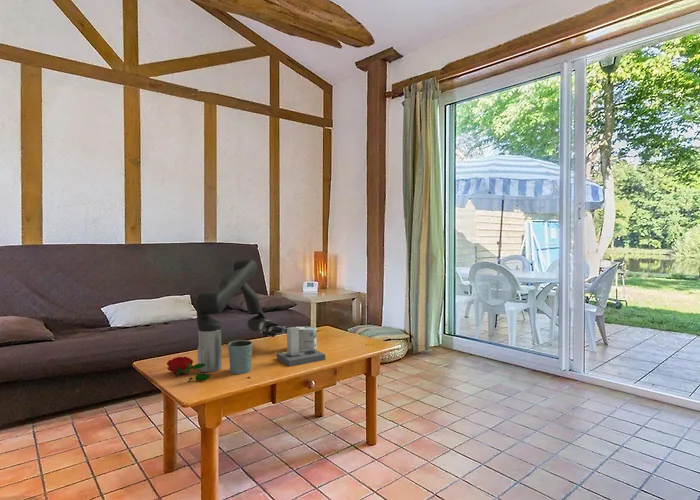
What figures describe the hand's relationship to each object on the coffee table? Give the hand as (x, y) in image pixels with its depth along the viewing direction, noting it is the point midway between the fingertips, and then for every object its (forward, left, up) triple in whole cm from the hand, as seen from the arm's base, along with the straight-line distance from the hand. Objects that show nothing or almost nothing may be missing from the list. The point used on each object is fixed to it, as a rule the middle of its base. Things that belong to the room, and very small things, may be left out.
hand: (282, 333), depth 205 cm
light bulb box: (+14, +4, -11) cm, 18 cm away
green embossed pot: (-25, -12, -11) cm, 29 cm away
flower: (-44, -10, -11) cm, 47 cm away
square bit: (0, -11, -10) cm, 15 cm away
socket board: (+4, -11, -10) cm, 16 cm away
